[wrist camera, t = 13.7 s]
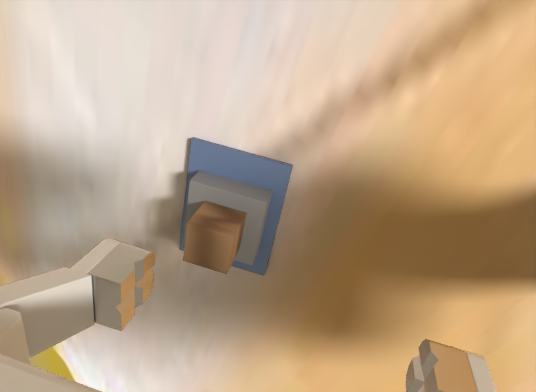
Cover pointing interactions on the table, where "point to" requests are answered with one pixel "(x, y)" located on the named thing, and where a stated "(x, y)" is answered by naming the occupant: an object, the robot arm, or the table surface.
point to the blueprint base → (242, 173)
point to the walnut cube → (214, 236)
